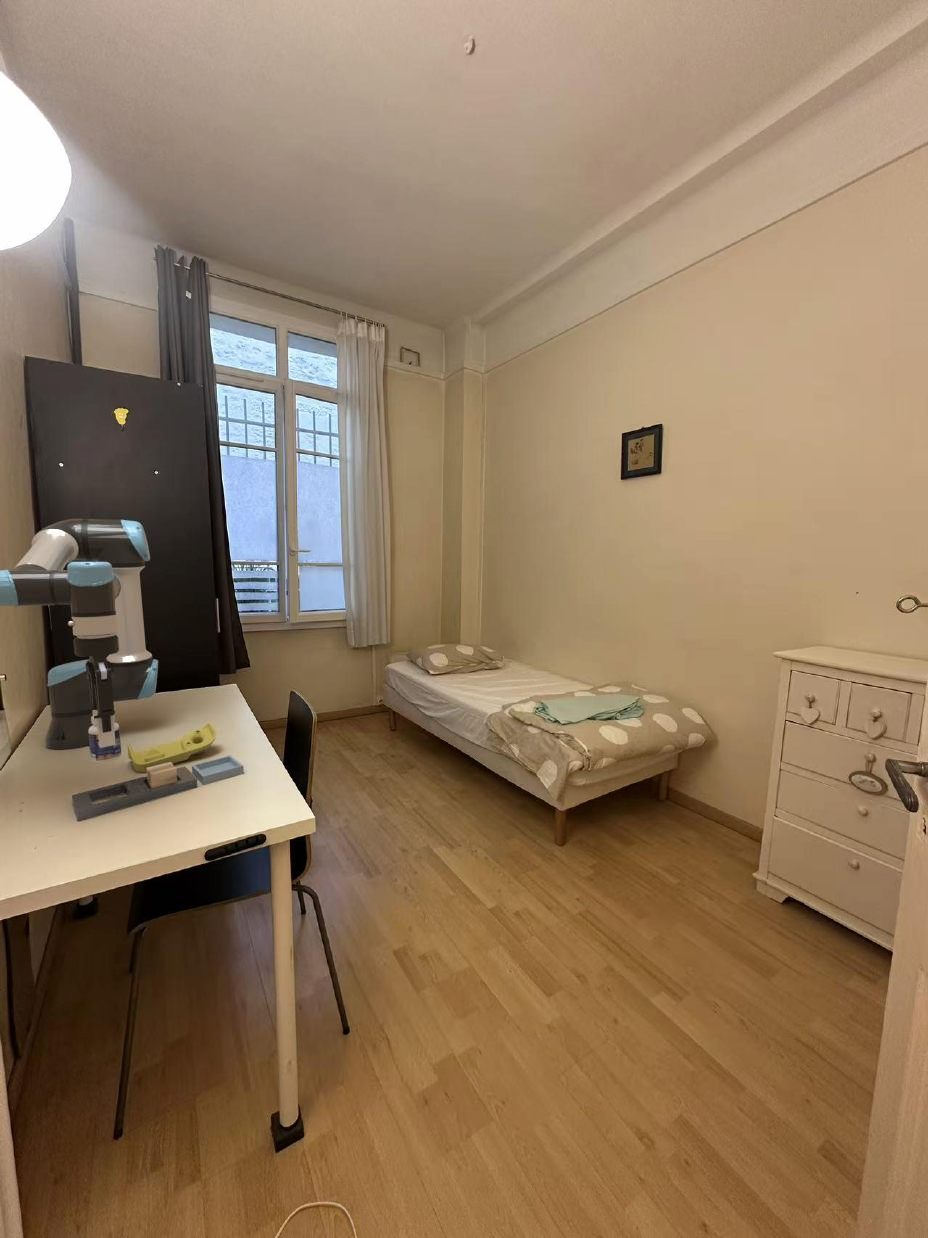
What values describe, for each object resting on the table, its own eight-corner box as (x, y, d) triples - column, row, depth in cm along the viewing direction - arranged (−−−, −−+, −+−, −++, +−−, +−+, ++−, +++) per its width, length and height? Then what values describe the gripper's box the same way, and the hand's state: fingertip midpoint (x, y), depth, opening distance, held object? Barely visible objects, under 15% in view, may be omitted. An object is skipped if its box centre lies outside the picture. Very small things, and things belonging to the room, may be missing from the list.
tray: (192, 772, 121) (191, 765, 121) (230, 762, 127) (230, 755, 127) (203, 784, 115) (203, 776, 114) (243, 773, 121) (243, 765, 121)
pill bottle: (97, 766, 101) (93, 721, 100) (86, 760, 104) (82, 716, 103) (126, 757, 106) (123, 714, 105) (114, 752, 109) (111, 710, 108)
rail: (72, 804, 105) (71, 795, 105) (185, 774, 120) (184, 766, 120) (77, 821, 98) (77, 812, 98) (197, 787, 113) (196, 779, 113)
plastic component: (135, 767, 119) (126, 740, 125) (137, 788, 123) (128, 761, 128) (221, 741, 132) (209, 718, 138) (221, 761, 136) (209, 738, 142)
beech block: (147, 788, 113) (146, 768, 112) (172, 782, 116) (170, 762, 116) (152, 795, 109) (151, 774, 109) (177, 789, 113) (176, 768, 112)
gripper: (68, 632, 106) (77, 734, 109) (78, 643, 93) (89, 759, 95) (110, 629, 111) (118, 727, 114) (126, 639, 98) (134, 749, 101)
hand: (105, 741), depth 105 cm, fingers closed on pill bottle, 5 cm apart
